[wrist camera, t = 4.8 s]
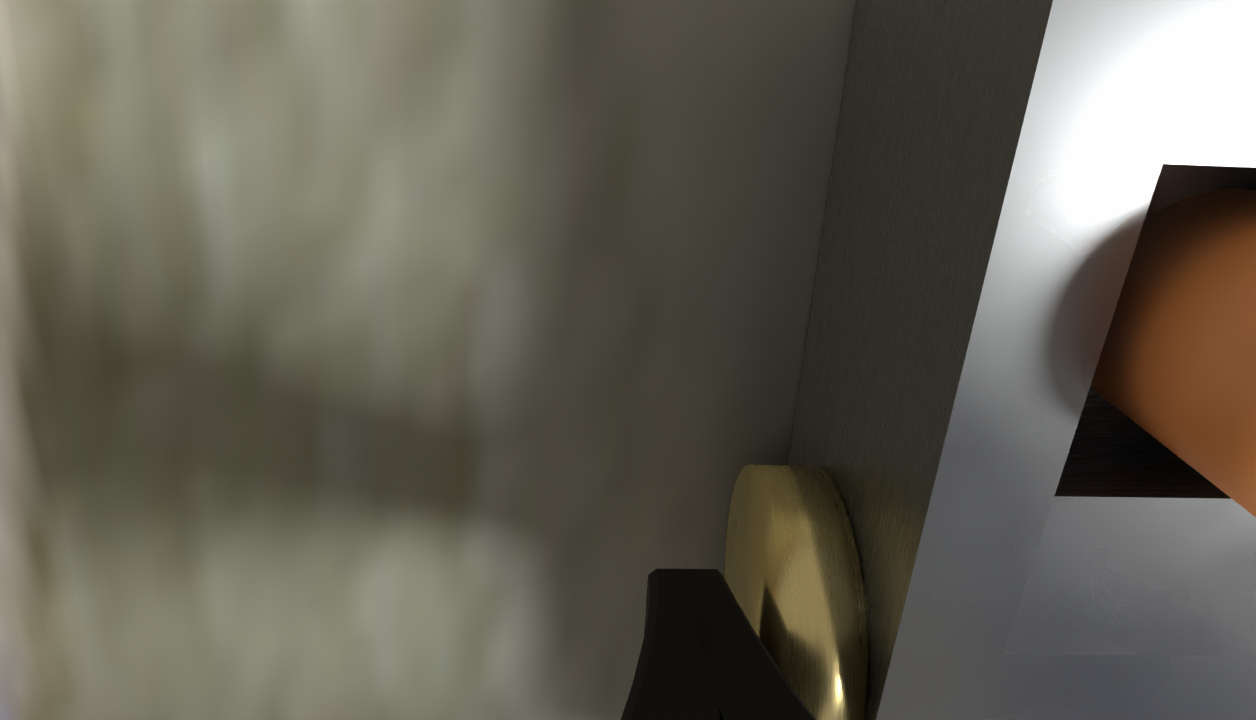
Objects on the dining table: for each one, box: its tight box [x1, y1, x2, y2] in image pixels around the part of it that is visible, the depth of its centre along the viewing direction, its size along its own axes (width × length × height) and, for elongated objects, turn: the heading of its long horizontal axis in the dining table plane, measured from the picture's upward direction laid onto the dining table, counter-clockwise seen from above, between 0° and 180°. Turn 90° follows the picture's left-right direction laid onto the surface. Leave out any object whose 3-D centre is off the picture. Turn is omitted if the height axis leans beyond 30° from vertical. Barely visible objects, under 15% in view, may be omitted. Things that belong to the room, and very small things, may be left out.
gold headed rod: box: [725, 465, 870, 720], centre depth 12 cm, size 10×4×4 cm, turn 88°
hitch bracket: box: [788, 0, 1256, 720], centre depth 11 cm, size 6×14×5 cm, turn 178°
